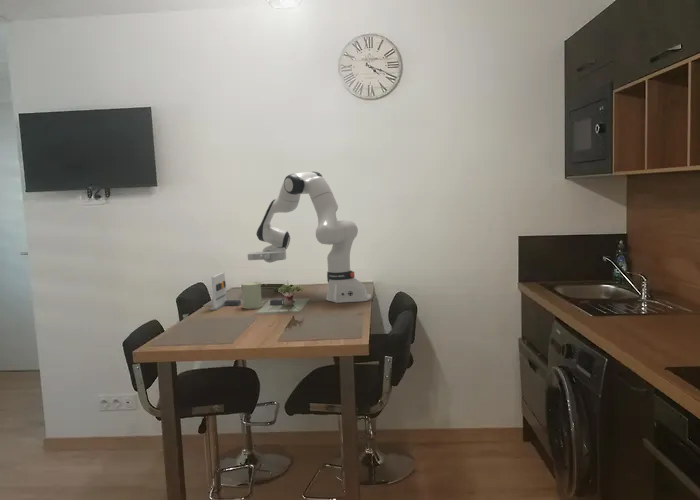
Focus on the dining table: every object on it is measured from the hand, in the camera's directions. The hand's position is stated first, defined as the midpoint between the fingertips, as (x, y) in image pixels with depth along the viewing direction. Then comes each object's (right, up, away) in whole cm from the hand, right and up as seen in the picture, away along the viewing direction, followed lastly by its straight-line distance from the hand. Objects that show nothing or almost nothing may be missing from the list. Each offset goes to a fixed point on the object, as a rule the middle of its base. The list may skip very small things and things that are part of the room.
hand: (262, 257), depth 302 cm
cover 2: (+9, -23, -16) cm, 29 cm away
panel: (-19, -24, -16) cm, 34 cm away
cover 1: (-13, -24, -13) cm, 30 cm away
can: (-2, -24, -19) cm, 30 cm away
